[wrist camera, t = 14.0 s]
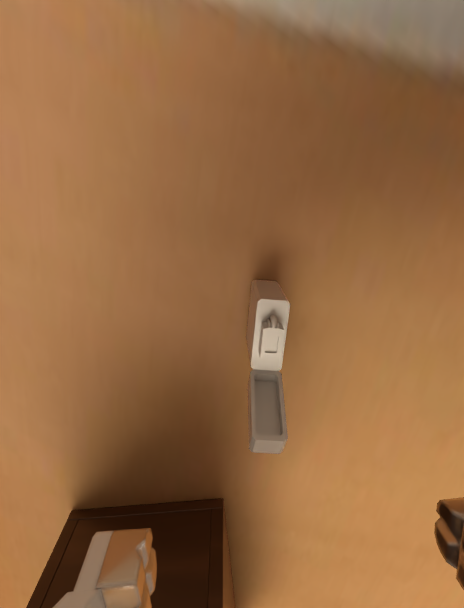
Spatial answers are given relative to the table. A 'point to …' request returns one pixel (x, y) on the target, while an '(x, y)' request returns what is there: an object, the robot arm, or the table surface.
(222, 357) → the table surface
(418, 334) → the table surface
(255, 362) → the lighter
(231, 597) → the chest
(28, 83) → the table surface
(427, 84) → the table surface
